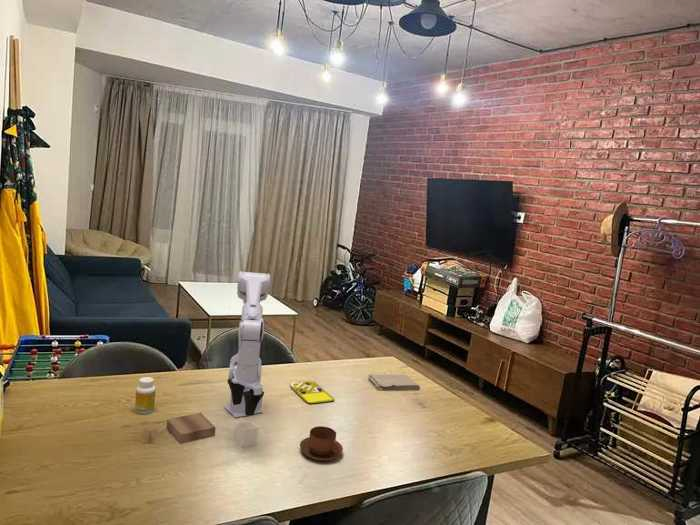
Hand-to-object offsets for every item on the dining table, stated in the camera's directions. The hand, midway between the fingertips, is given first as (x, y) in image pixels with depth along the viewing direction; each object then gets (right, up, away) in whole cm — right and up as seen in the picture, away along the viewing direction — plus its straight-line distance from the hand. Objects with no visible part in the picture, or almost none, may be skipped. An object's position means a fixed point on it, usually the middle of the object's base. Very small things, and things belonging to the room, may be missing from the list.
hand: (243, 409), depth 143 cm
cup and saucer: (+21, -13, +1) cm, 25 cm away
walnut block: (-16, -8, +3) cm, 18 cm away
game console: (+16, -6, +41) cm, 44 cm away
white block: (0, -10, +1) cm, 10 cm away
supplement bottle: (-32, -4, +12) cm, 35 cm away
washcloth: (+46, -8, +59) cm, 75 cm away
